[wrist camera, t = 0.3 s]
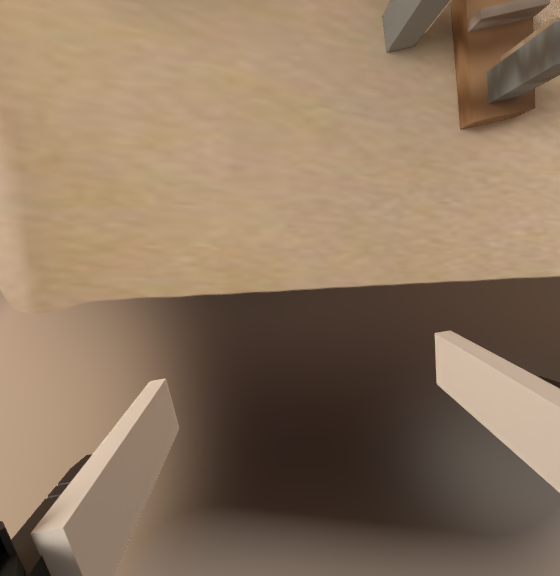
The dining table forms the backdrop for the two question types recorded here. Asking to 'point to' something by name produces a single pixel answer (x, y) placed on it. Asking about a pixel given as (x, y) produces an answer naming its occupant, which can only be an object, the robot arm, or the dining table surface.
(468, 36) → the wooden block stand
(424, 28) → the grey block tan top
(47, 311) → the dining table surface
